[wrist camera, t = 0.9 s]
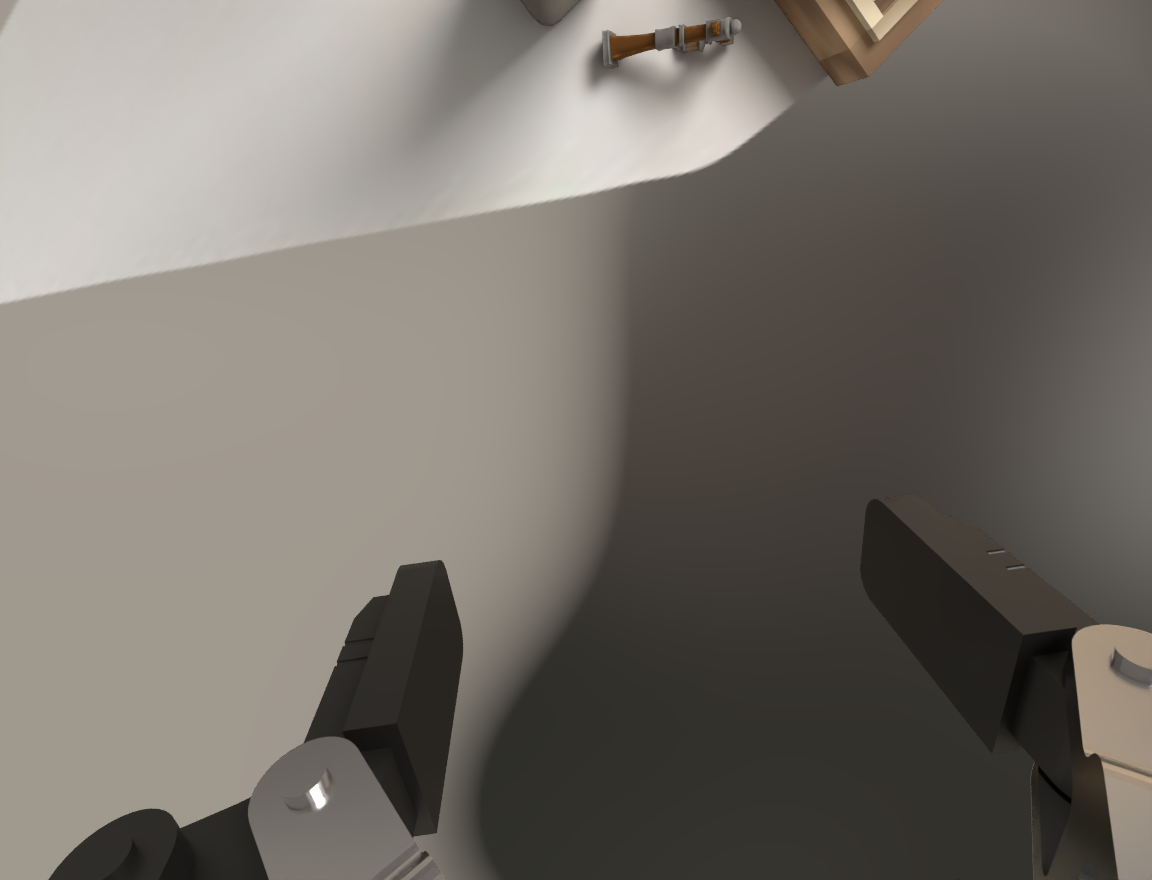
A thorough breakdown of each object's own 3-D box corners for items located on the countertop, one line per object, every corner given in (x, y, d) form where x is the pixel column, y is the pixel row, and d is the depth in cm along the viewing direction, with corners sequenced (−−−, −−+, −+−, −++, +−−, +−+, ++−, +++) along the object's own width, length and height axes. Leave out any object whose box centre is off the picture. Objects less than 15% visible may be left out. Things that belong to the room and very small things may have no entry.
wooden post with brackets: (747, 52, 36) (739, 42, 32) (623, 72, 39) (602, 65, 35) (748, 17, 35) (740, 3, 32) (621, 40, 38) (600, 29, 34)
